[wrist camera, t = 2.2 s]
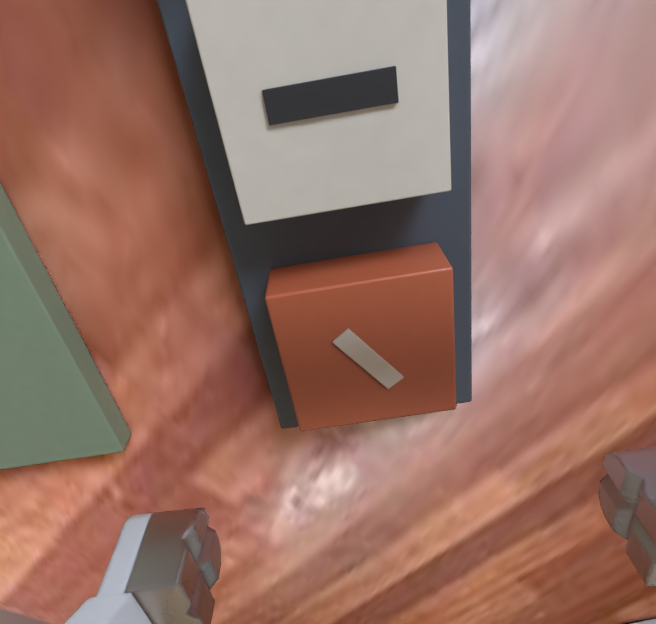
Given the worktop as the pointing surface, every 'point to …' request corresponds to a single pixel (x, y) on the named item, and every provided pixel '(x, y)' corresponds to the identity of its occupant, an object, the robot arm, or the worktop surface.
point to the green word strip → (46, 366)
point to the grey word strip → (338, 222)
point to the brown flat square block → (366, 335)
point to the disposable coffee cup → (646, 622)
